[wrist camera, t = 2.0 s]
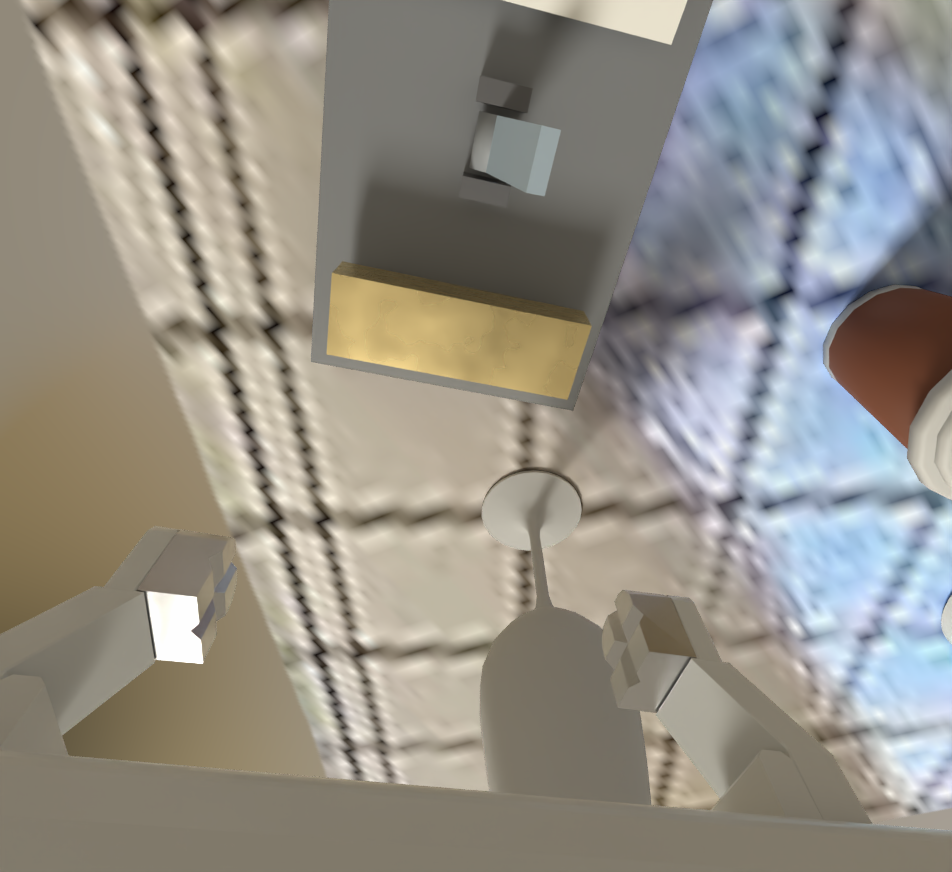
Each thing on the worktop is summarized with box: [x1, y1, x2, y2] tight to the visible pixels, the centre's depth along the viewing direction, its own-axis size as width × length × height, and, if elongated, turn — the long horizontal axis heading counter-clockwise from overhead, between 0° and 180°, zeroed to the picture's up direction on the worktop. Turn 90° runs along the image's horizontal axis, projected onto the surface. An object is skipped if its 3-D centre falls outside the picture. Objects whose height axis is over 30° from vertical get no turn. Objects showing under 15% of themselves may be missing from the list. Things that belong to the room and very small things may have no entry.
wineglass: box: [480, 470, 651, 805], centre depth 30 cm, size 8×8×21 cm
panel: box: [311, 0, 713, 411], centre depth 24 cm, size 14×23×7 cm, turn 168°
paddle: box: [469, 111, 561, 196], centre depth 20 cm, size 2×2×6 cm
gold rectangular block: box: [327, 261, 592, 400], centre depth 24 cm, size 11×4×2 cm, turn 78°
